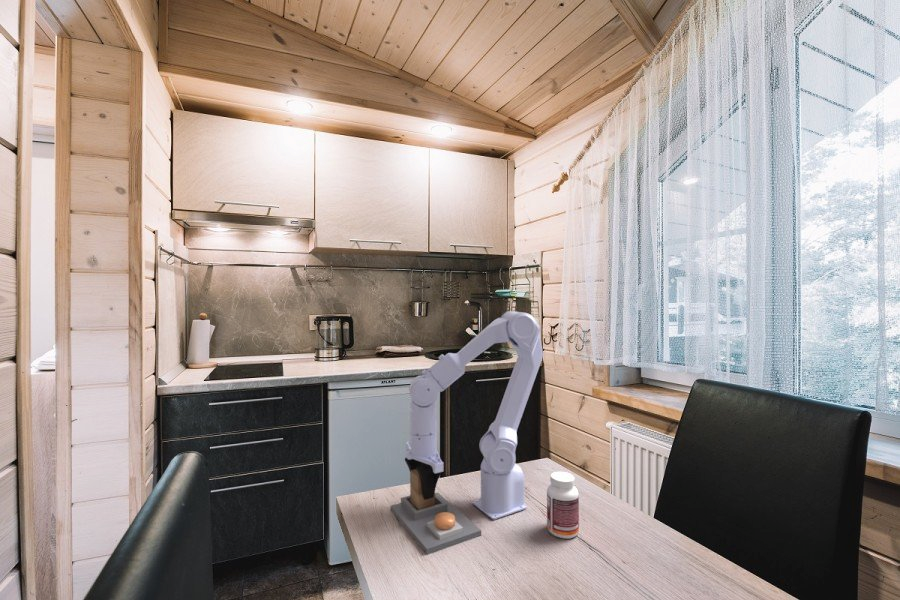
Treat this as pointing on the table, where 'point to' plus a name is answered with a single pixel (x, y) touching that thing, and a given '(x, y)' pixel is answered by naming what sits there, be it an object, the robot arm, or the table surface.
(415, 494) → the block
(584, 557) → the table surface
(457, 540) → the loading station
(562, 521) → the pill bottle
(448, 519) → the button
